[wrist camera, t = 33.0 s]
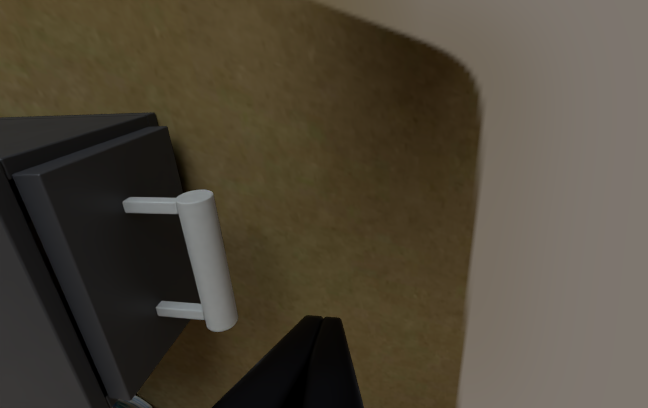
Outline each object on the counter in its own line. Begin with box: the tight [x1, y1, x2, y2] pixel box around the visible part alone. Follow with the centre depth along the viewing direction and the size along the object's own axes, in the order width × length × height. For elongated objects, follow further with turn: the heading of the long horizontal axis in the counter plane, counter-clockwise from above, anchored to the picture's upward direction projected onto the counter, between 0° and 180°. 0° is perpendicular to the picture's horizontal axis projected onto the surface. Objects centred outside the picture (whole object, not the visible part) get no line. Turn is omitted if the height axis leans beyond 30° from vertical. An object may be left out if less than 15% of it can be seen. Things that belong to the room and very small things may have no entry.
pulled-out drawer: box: [8, 126, 238, 401], centre depth 19 cm, size 18×11×8 cm, turn 94°
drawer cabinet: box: [0, 113, 158, 408], centre depth 20 cm, size 15×13×10 cm
